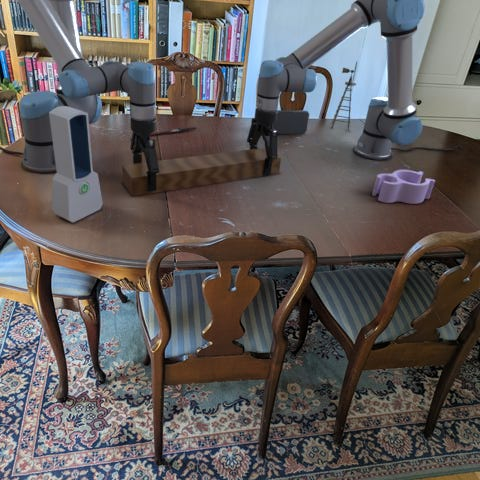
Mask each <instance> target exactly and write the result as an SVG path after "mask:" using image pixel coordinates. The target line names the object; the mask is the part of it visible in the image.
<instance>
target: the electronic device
mask: <svg viewBox="0 0 480 480" xmlns="http://www.w3.org/2000/svg"><path fill="white" fill-rule="evenodd" d="M49 117H50V124H51V132H52V140H53V147H54V155H55V162H56V170H57V171H56V172H55V174H54V175H53V177H52V180H51V209H52V212H53V214H55V215H57V216H58V217H60V218H62V219H64V220H66V221H68V222H69V223H72V224H73V223H75V222H77V221H79V220H81V219H84V218H85V217H88V216H89V215H92V214H93V213H96V212H98V211H100V210H101V209H102V207H103V204H104V202H103V196H102V191H101V186H100V181H99V180H100V178H99V174H98V172H96V171H94V169H93V168H94V166H93V157H92V145H91V132H90V125H89V120H88V113H86V112H83V111H80V110H77V109H74V108H71V107H67V106H60V107H57V108H55V109H53V110H52V111H50V112H49Z"/></svg>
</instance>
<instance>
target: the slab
mask: <svg viewBox="0 0 480 480" xmlns="http://www.w3.org/2000/svg"><path fill="white" fill-rule="evenodd" d="M269 156H270V155H269ZM265 158H267V155H266V149H265V147H259V148H258V147H257V149H250V148H249V149H242V150H233V151H225V152H217V153H211V154H200V155H194V156H186V157H178V158H169V159H162V160H158V166H159V173H156V190H157V191H151V192H148V191H147V173H146V172H147V171H148V168H147V164H146V161H145V162H142V163H136V164H133V163H129V164H122V166H121V168H122V183H123V185H124V186H125V188H126V190H127V191H128V192H129V193H130V195H131V196H132V197H137V196H144V195H150V194H157V193H163V192H170V191H174V190H175V191H176V190H182V189H187V188H188V189H189V188H194V187H195V188H196V187H202V186H209V185H214V184H219V183H228V182H233V181H239V180H245V179H254V178H259V177H266V176H267V175H265V176H264V175H263V171H264V163H265ZM281 163H282V156H280V155H279V154H277V159H273V163H272V167H271V174H270V175H269V176H271V175H277V174H280V170H281Z"/></svg>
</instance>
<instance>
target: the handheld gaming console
mask: <svg viewBox="0 0 480 480" xmlns="http://www.w3.org/2000/svg"><path fill="white" fill-rule="evenodd" d="M309 118H310V113H309V111H308V110H303V109H301V110H299V109H284V110H283V109H281V110H278V109H277V118H276V121H275V122H274V123H273V129H274V130H278V135H293V134H294V135H297V134H298V135H300V134H305V133H306V132H307V130H308V123H309Z"/></svg>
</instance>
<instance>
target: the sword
mask: <svg viewBox="0 0 480 480" xmlns="http://www.w3.org/2000/svg"><path fill="white" fill-rule="evenodd" d="M188 130H189V131H190V130H197V127H196V126H190V127H184V128H183V127H182V128H180V127H178V128H176V129H170V130H163V131H158V132H157V131H156V132H152V133H151V134H150V135H151V136H156V135H160V134H161V135H163V134H169V133H176V132H177V133H178V132H179V133H180V132H182V131H188ZM131 140H132V138H130V141H131Z"/></svg>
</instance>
